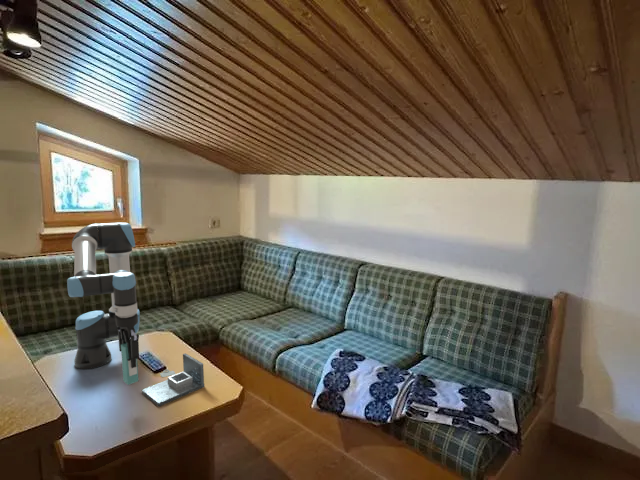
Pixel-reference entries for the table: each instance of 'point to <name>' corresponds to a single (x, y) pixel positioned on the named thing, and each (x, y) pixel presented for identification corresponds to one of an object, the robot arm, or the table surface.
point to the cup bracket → (178, 383)
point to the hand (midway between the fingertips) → (130, 372)
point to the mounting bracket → (167, 373)
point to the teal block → (125, 356)
